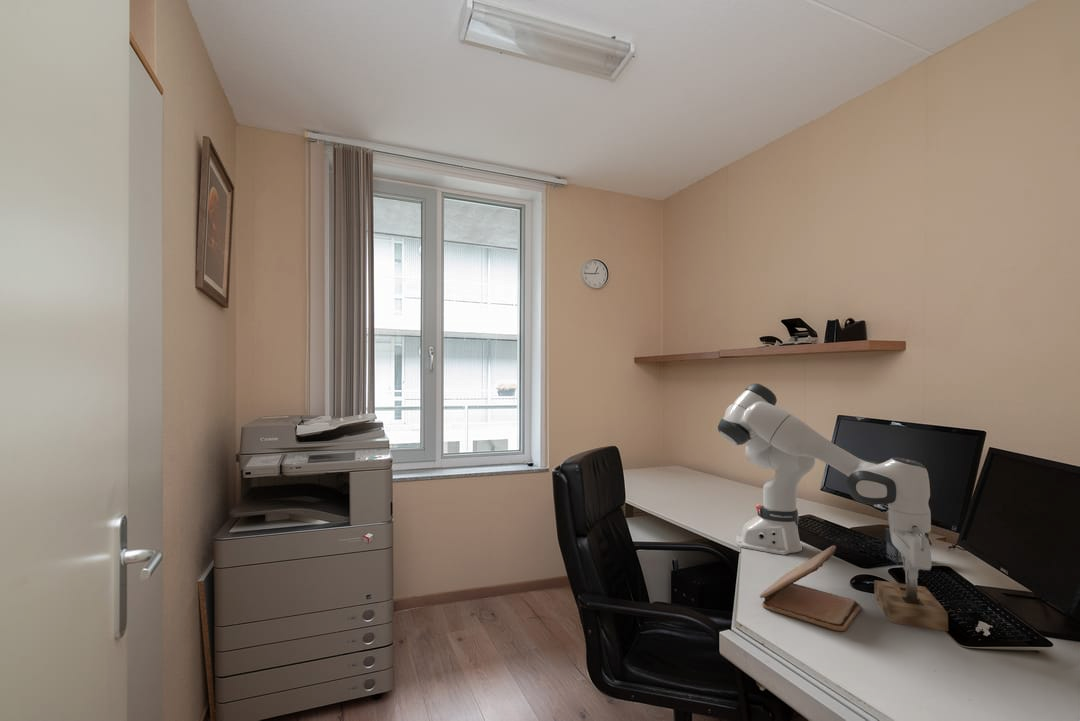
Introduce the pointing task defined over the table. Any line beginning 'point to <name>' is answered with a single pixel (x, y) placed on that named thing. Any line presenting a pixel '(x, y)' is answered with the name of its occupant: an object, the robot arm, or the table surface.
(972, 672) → the table surface
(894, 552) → the small box
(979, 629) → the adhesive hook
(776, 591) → the case
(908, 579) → the gauge pin
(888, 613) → the wooden flat block
